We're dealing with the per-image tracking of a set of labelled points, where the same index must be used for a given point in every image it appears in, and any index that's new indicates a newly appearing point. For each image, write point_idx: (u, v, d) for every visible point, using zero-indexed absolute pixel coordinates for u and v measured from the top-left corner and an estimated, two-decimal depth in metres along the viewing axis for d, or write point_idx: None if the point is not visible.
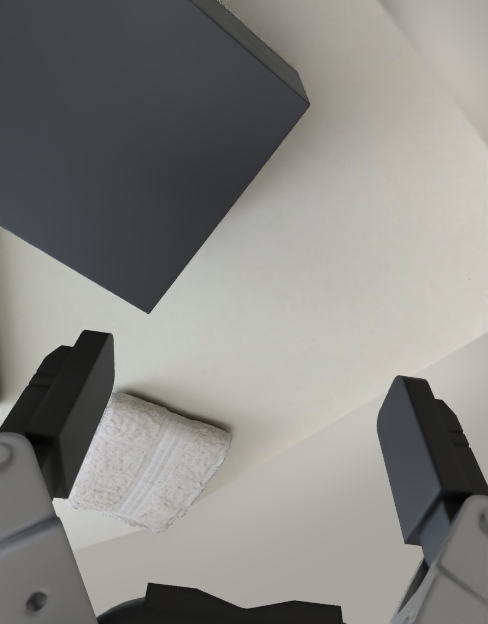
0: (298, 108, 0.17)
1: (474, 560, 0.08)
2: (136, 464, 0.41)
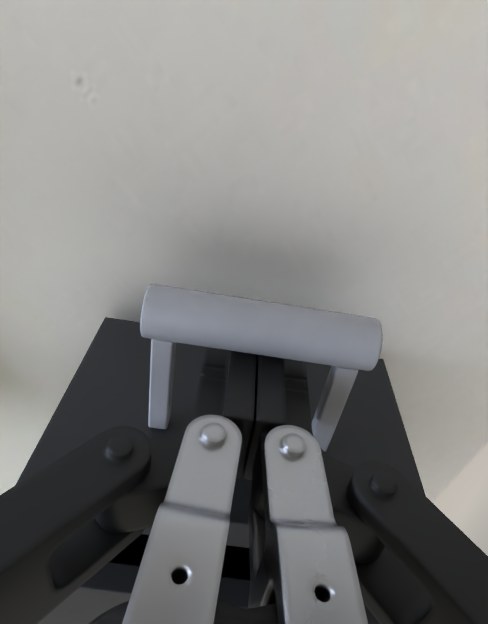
0: None
1: (294, 492, 0.08)
2: None
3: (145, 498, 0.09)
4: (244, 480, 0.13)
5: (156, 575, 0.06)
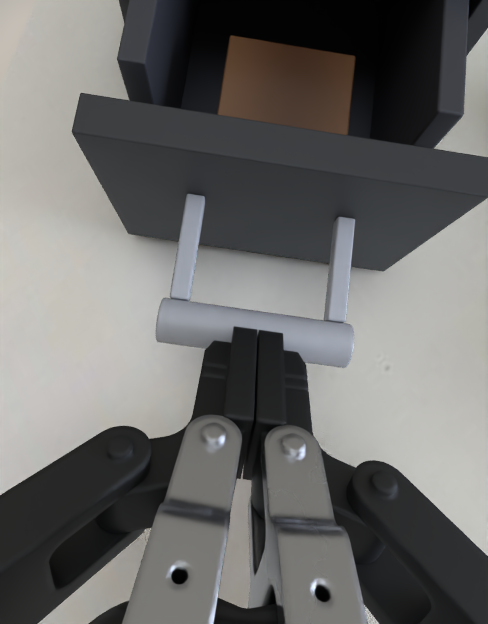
0: None
1: (294, 492, 0.08)
2: None
3: (145, 498, 0.09)
4: (268, 185, 0.13)
5: (156, 575, 0.06)
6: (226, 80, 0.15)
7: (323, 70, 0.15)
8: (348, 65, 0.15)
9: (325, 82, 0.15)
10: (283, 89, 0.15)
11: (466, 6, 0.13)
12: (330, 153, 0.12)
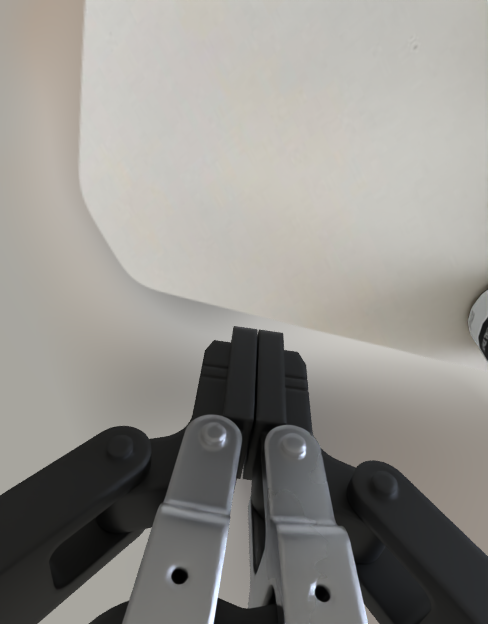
0: None
1: (294, 492, 0.08)
2: None
3: (145, 498, 0.09)
4: None
5: (156, 575, 0.06)
6: None
7: None
8: None
9: None
10: None
11: None
12: None
